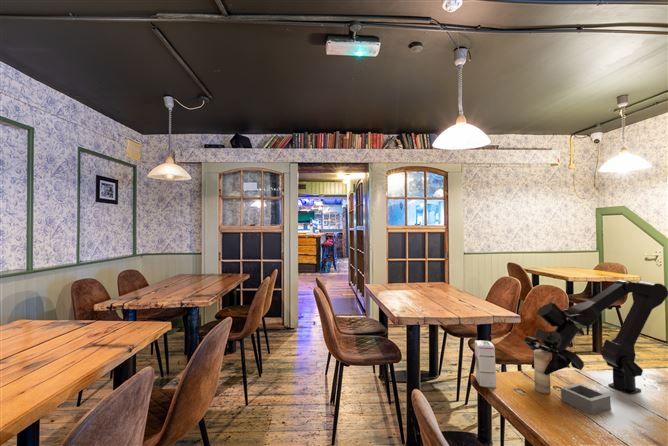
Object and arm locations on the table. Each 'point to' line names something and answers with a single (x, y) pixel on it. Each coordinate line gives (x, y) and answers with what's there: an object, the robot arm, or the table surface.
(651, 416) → the table surface
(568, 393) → the square sleeve socket
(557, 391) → the table surface
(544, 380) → the wooden peg
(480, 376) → the syrup box
